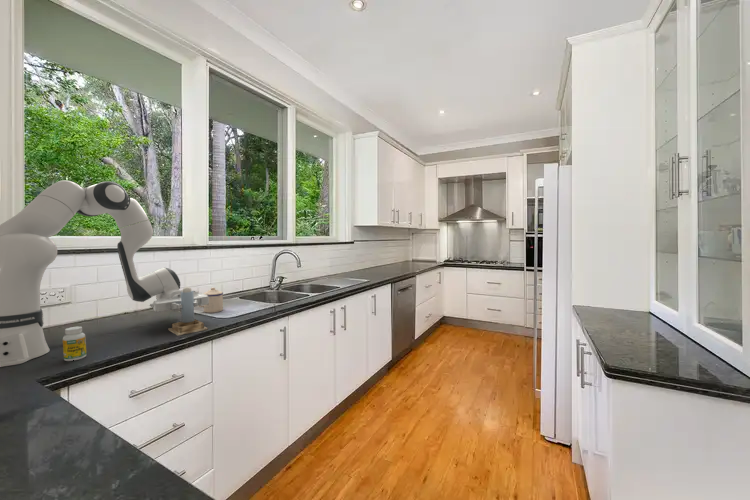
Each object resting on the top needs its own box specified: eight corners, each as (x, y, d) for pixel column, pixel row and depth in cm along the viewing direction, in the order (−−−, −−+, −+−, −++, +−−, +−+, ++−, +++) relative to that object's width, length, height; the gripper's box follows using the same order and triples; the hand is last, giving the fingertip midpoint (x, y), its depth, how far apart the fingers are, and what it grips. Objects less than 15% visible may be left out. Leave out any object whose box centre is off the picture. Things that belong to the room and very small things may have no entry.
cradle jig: (177, 335, 129) (177, 328, 128) (168, 329, 136) (168, 323, 136) (207, 329, 137) (207, 323, 137) (197, 324, 144) (197, 318, 144)
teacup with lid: (222, 308, 175) (222, 285, 174) (224, 311, 167) (223, 288, 166) (196, 310, 169) (195, 287, 168) (197, 314, 161) (196, 290, 160)
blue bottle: (184, 323, 133) (182, 288, 132) (180, 321, 136) (178, 286, 135) (196, 321, 137) (194, 286, 136) (191, 319, 140) (190, 285, 139)
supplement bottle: (84, 353, 110) (83, 324, 109) (88, 357, 106) (86, 327, 106) (62, 358, 106) (60, 328, 105) (65, 362, 102) (63, 331, 102)
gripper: (147, 296, 137) (158, 302, 128) (201, 290, 152) (213, 294, 143) (148, 312, 137) (159, 318, 128) (201, 304, 152) (214, 308, 143)
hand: (188, 305), depth 135 cm, fingers closed on blue bottle, 4 cm apart
